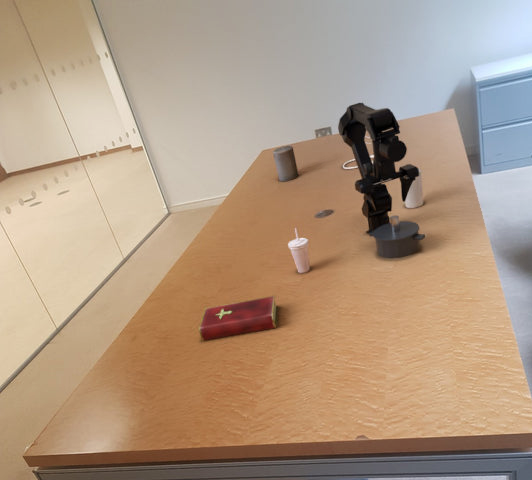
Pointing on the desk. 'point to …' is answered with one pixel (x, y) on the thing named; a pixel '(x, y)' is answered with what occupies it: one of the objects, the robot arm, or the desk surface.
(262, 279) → the desk surface
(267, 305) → the hardcover book
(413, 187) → the mug
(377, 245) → the pot
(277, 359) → the desk surface
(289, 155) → the pillar candle
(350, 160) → the earphone
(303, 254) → the smoothie
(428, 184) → the desk surface
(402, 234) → the lid
